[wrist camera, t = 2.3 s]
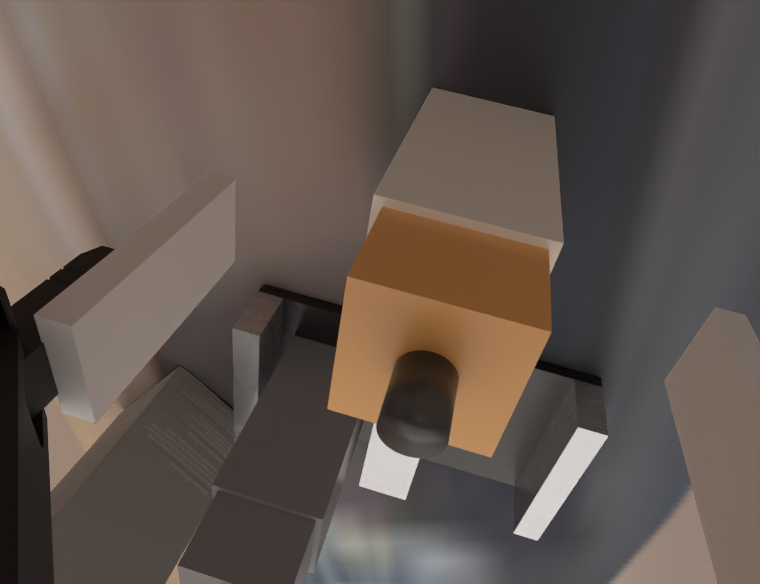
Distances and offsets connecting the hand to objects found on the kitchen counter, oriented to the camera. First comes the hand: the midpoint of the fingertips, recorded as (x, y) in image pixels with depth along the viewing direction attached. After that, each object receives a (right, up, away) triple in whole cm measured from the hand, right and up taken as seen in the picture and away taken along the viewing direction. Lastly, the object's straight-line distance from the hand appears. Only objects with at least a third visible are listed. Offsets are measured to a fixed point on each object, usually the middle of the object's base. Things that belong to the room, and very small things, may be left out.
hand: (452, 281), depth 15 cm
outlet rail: (0, -6, +14) cm, 15 cm away
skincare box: (-15, -8, +20) cm, 26 cm away
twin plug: (-5, -5, +14) cm, 16 cm away
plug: (+2, +5, +6) cm, 8 cm away
